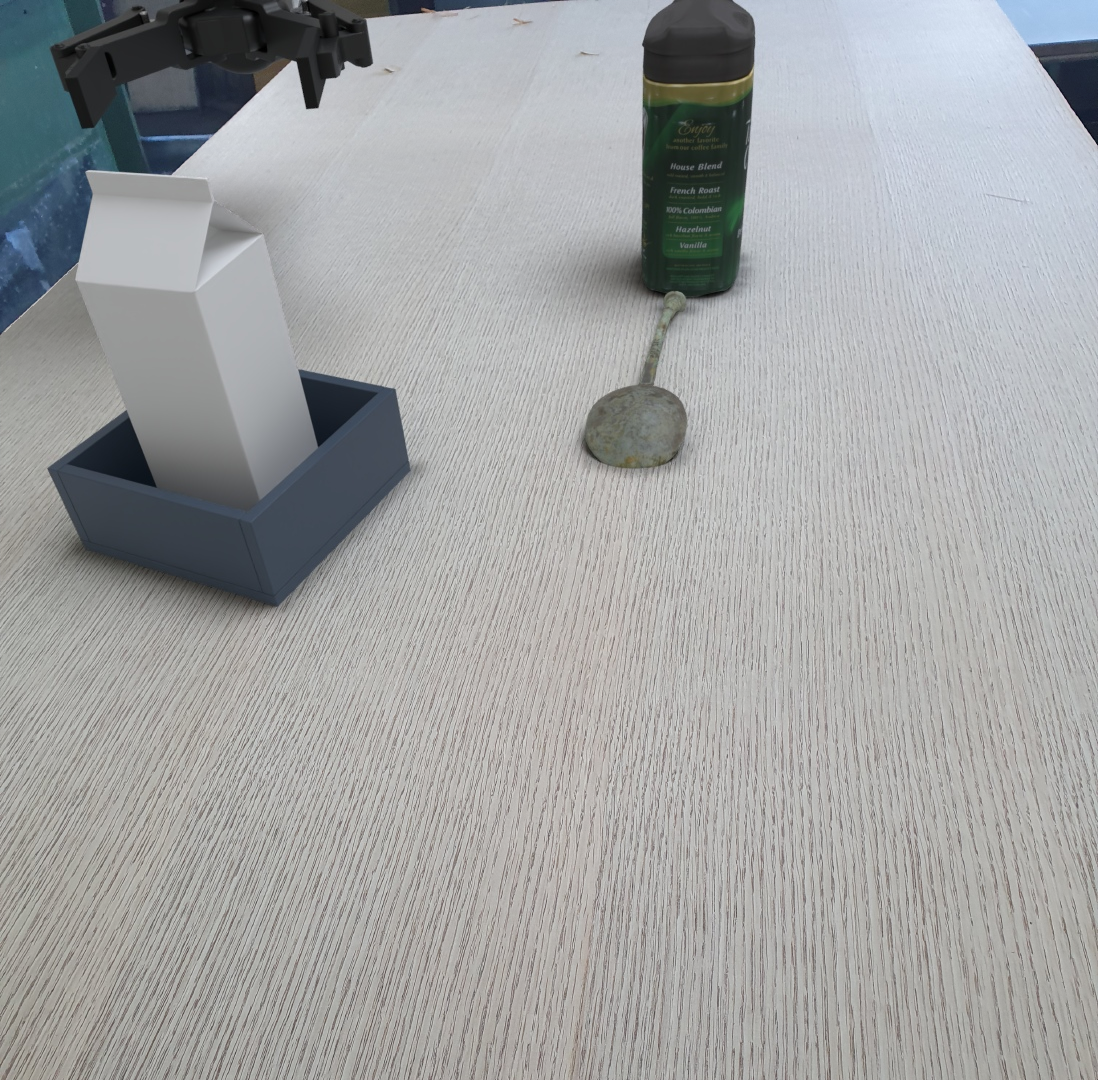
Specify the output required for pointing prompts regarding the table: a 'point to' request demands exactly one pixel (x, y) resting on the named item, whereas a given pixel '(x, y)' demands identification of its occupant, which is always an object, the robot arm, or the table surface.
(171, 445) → the milk carton
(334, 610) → the table surface
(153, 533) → the bin
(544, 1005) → the table surface
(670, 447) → the soupspoon
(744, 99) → the coffee jar
